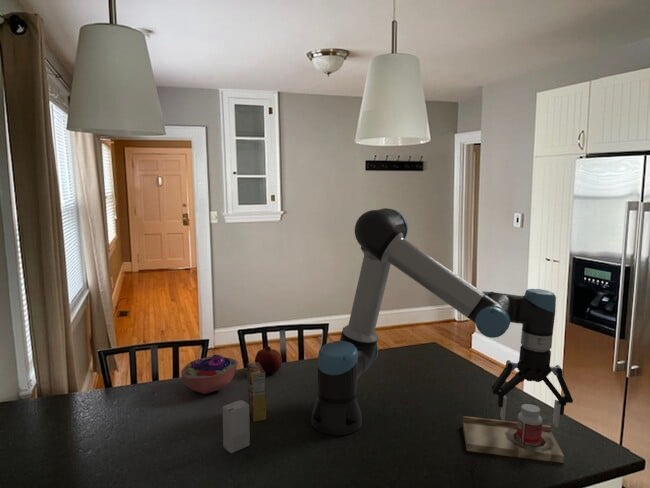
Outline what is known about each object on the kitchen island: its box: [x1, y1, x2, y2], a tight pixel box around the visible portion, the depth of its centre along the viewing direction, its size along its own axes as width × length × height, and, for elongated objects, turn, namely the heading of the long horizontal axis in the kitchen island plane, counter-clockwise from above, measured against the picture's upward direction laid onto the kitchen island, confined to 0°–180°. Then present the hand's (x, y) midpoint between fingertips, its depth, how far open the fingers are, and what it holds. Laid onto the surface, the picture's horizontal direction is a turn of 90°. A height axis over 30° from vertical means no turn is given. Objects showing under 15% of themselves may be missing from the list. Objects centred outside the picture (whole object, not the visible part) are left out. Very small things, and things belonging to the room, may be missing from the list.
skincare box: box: [222, 399, 251, 454], centre depth 122 cm, size 6×4×12 cm
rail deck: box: [462, 415, 565, 464], centre depth 126 cm, size 24×13×3 cm, turn 78°
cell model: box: [180, 354, 239, 395], centre depth 156 cm, size 17×20×11 cm
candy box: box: [246, 361, 267, 423], centre depth 139 cm, size 9×4×15 cm, turn 20°
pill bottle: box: [515, 403, 543, 447], centre depth 124 cm, size 6×6×11 cm
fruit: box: [254, 345, 283, 375], centre depth 171 cm, size 11×10×10 cm
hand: (528, 421), depth 124 cm, fingers open, 13 cm apart
